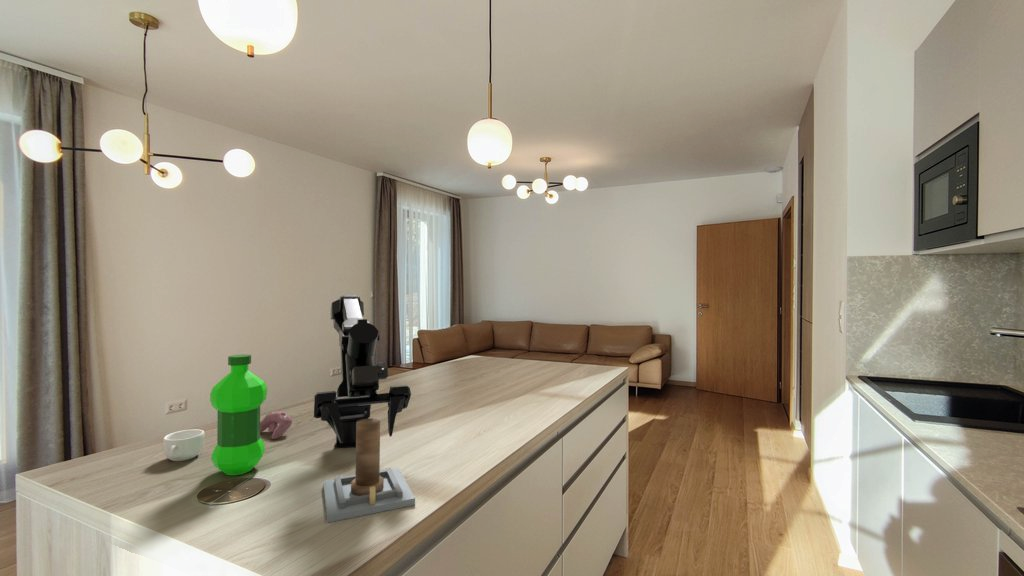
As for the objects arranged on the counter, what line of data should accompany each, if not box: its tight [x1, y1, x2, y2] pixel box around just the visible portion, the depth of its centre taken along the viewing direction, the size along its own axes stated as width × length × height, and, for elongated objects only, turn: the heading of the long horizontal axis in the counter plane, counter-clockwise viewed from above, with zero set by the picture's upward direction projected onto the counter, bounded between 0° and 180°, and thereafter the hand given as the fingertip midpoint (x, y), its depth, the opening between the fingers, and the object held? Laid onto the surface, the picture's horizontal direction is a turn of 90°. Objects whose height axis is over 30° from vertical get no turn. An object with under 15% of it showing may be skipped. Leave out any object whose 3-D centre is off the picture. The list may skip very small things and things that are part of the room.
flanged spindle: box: [351, 417, 384, 496], centre depth 86 cm, size 6×6×13 cm
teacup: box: [162, 428, 205, 462], centre depth 103 cm, size 10×8×5 cm
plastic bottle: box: [209, 353, 268, 476], centre depth 97 cm, size 10×10×25 cm
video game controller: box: [260, 410, 293, 440], centre depth 121 cm, size 10×5×7 cm, turn 58°
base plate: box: [322, 467, 416, 523], centre depth 86 cm, size 15×15×4 cm
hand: (367, 438), depth 87 cm, fingers open, 9 cm apart
